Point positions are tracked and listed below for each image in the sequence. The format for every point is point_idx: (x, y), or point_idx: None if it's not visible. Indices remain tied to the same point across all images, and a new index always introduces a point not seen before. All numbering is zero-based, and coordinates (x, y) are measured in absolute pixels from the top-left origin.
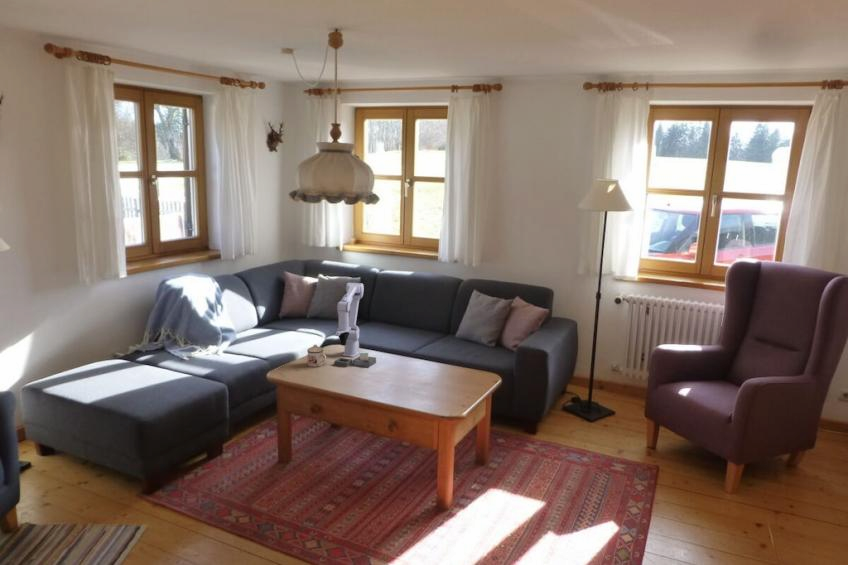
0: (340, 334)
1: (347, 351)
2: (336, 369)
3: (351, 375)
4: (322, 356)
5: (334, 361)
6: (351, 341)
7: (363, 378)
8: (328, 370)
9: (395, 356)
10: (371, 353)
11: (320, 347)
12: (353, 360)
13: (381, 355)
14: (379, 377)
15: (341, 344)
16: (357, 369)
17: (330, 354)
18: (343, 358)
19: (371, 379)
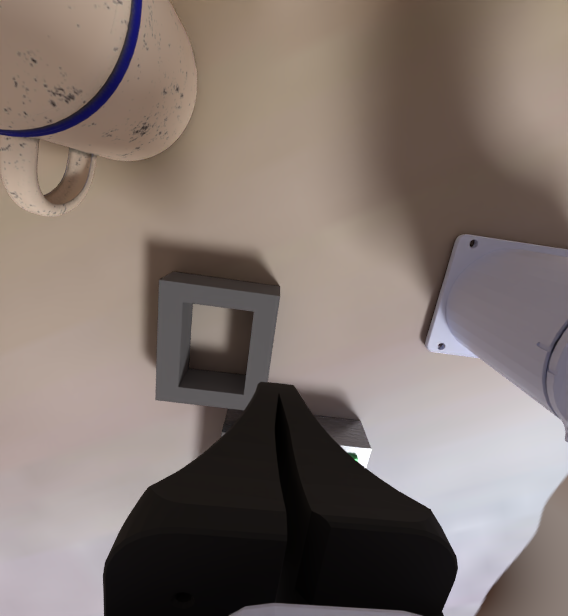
0: (113, 614)
1: (469, 305)
2: (84, 325)
3: (20, 462)
4: (79, 146)
5: (161, 280)
6: (553, 405)
7: (10, 536)
8: (29, 273)
9: (487, 580)
10: (543, 439)
11: (89, 25)
12: (221, 436)
13: (499, 508)
14: (75, 598)
15: (257, 388)
16: (153, 459)
17: (481, 103)
18: (265, 332)
19: (20, 575)
